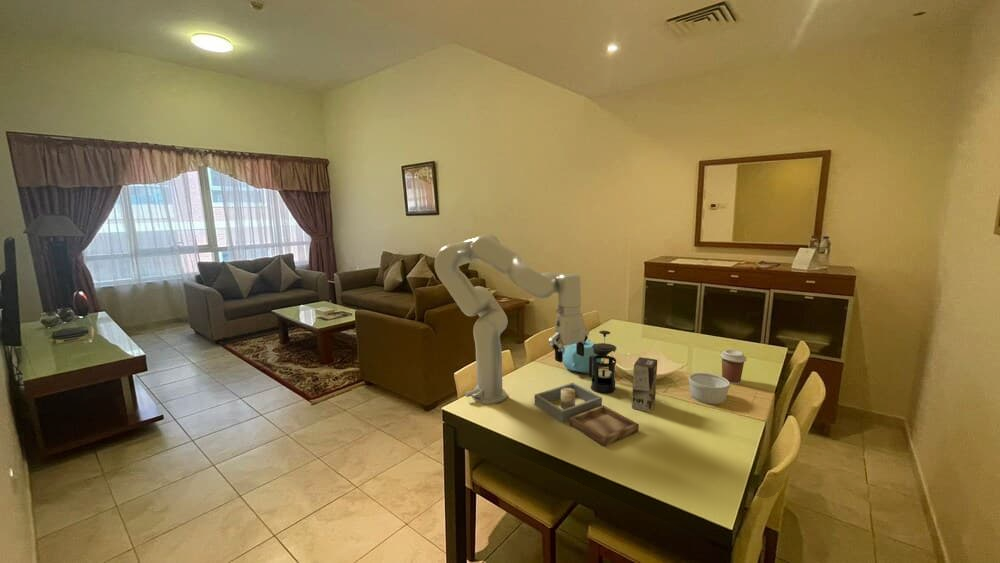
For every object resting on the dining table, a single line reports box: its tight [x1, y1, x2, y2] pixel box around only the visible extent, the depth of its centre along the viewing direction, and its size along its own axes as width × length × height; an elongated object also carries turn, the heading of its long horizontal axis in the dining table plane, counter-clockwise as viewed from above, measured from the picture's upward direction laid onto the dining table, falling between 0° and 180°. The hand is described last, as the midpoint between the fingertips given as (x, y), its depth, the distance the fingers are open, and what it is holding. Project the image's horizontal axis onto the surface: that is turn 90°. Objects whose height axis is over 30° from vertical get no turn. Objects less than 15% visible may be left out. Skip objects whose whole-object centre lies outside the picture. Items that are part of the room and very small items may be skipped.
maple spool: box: [560, 388, 576, 410], centre depth 142 cm, size 5×5×6 cm
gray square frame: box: [534, 382, 603, 424], centre depth 143 cm, size 18×15×4 cm
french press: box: [588, 330, 617, 395], centre depth 155 cm, size 12×9×23 cm
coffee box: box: [631, 356, 658, 413], centre depth 142 cm, size 9×6×16 cm
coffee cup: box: [719, 348, 748, 385], centre depth 160 cm, size 9×9×12 cm
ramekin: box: [688, 372, 731, 405], centre depth 147 cm, size 13×13×7 cm
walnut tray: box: [569, 404, 640, 448], centre depth 128 cm, size 15×15×2 cm
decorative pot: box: [561, 339, 603, 374], centre depth 176 cm, size 16×16×14 cm
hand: (569, 358), depth 140 cm, fingers open, 9 cm apart
